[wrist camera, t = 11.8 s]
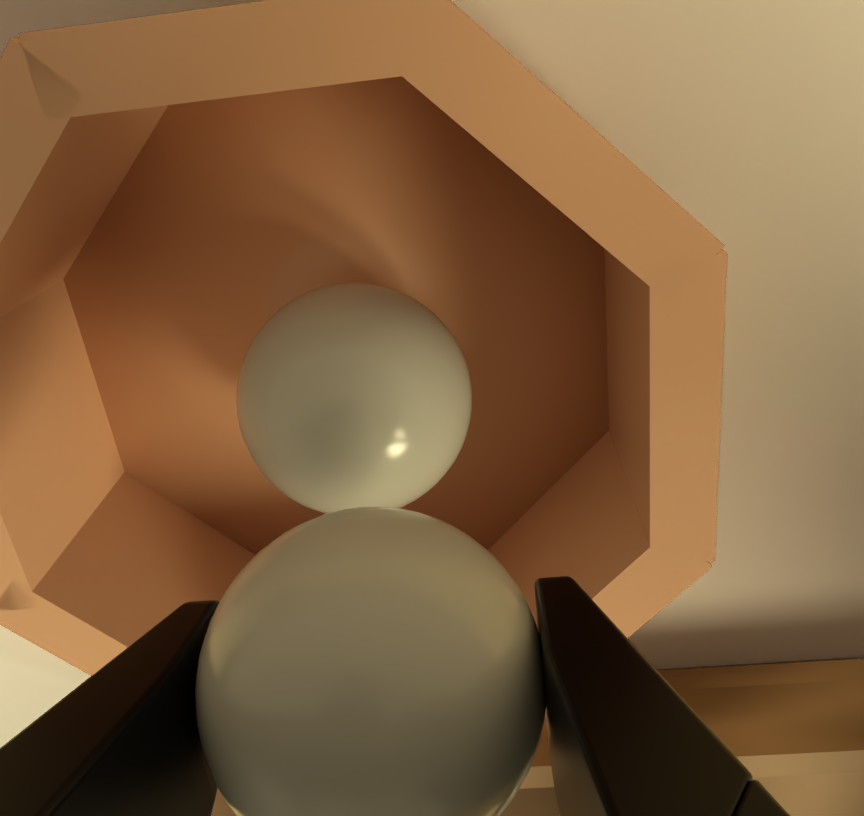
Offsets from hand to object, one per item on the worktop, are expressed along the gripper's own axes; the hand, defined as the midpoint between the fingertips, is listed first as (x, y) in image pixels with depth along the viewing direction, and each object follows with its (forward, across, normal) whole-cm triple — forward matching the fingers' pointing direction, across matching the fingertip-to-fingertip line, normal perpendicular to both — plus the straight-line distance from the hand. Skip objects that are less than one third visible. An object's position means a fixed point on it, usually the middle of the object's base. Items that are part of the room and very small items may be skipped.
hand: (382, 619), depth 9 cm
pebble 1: (+4, +1, -1) cm, 4 cm away
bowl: (+7, +1, -1) cm, 7 cm away
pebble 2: (-1, 0, 0) cm, 1 cm away
